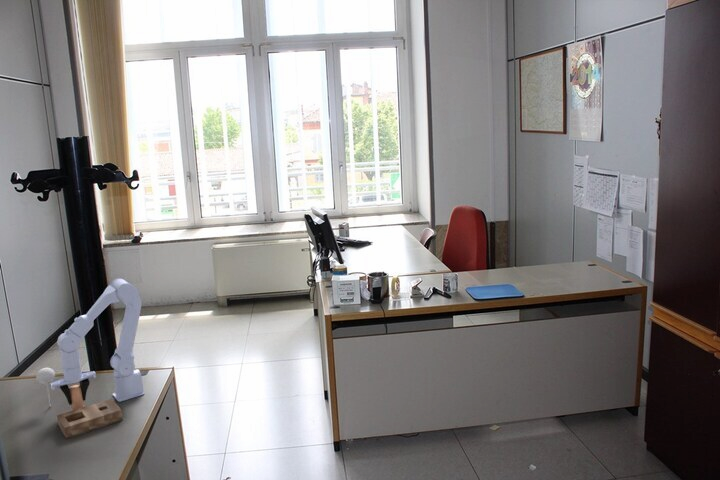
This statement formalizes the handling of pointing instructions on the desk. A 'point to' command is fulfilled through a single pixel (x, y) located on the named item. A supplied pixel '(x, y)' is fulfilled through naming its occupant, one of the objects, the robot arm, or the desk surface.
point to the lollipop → (46, 378)
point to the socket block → (89, 418)
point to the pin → (76, 397)
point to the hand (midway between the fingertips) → (77, 401)
